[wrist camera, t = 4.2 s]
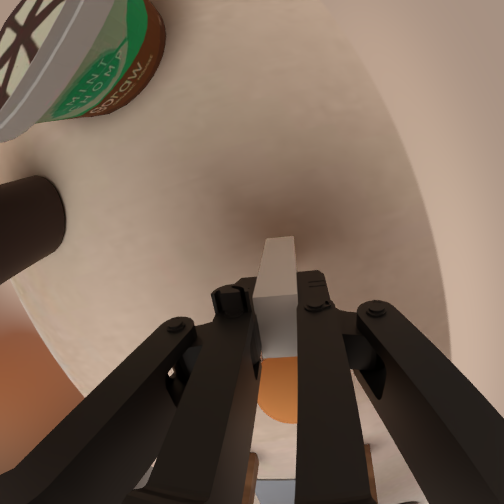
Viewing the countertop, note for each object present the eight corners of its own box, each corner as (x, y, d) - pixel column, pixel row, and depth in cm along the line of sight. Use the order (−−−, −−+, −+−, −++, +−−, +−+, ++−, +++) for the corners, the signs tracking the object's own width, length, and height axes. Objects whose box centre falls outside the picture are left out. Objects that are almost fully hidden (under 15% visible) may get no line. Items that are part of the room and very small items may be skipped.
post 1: (258, 462, 27) (249, 525, 18) (237, 461, 27) (225, 523, 19) (255, 452, 26) (245, 520, 18) (233, 452, 26) (219, 517, 18)
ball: (329, 380, 21) (335, 434, 16) (262, 385, 22) (255, 438, 17) (330, 327, 19) (340, 382, 14) (252, 333, 20) (241, 389, 15)
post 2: (365, 454, 25) (373, 517, 16) (344, 457, 25) (348, 521, 17) (369, 444, 24) (378, 511, 16) (346, 447, 24) (352, 516, 16)
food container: (106, 170, 17) (-13, 202, 8) (59, 123, 16) (-50, 133, 7) (225, 22, 13) (165, -75, 4) (161, -12, 12) (82, -83, 3)
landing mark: (344, 502, 31) (344, 503, 31) (262, 506, 34) (262, 507, 33) (355, 473, 27) (355, 474, 27) (249, 479, 29) (249, 480, 29)
